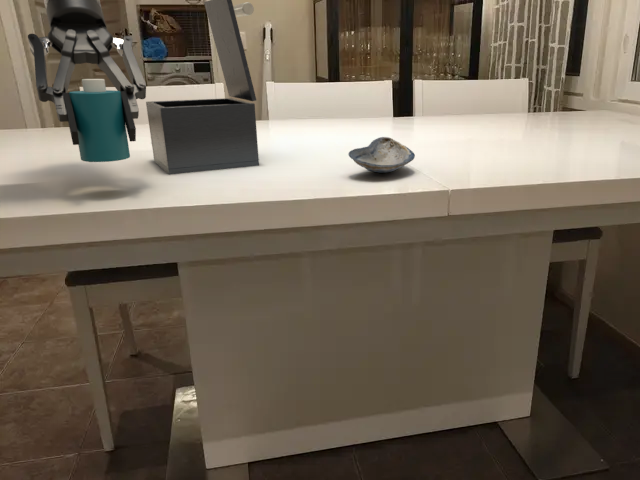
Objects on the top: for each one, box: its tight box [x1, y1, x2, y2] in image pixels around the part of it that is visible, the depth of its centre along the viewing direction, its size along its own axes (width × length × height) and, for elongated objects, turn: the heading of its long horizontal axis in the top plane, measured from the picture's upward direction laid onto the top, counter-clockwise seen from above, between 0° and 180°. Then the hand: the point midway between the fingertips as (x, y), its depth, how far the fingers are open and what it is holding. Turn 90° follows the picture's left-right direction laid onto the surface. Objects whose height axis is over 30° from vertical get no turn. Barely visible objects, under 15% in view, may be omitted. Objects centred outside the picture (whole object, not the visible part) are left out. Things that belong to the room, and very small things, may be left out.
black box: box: [145, 97, 260, 176], centre depth 102 cm, size 16×14×11 cm
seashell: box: [348, 136, 416, 174], centre depth 95 cm, size 15×12×5 cm
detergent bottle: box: [68, 78, 131, 163], centre depth 77 cm, size 6×6×11 cm
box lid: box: [203, 0, 257, 102], centre depth 100 cm, size 17×14×6 cm
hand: (104, 136), depth 75 cm, fingers closed on detergent bottle, 6 cm apart
